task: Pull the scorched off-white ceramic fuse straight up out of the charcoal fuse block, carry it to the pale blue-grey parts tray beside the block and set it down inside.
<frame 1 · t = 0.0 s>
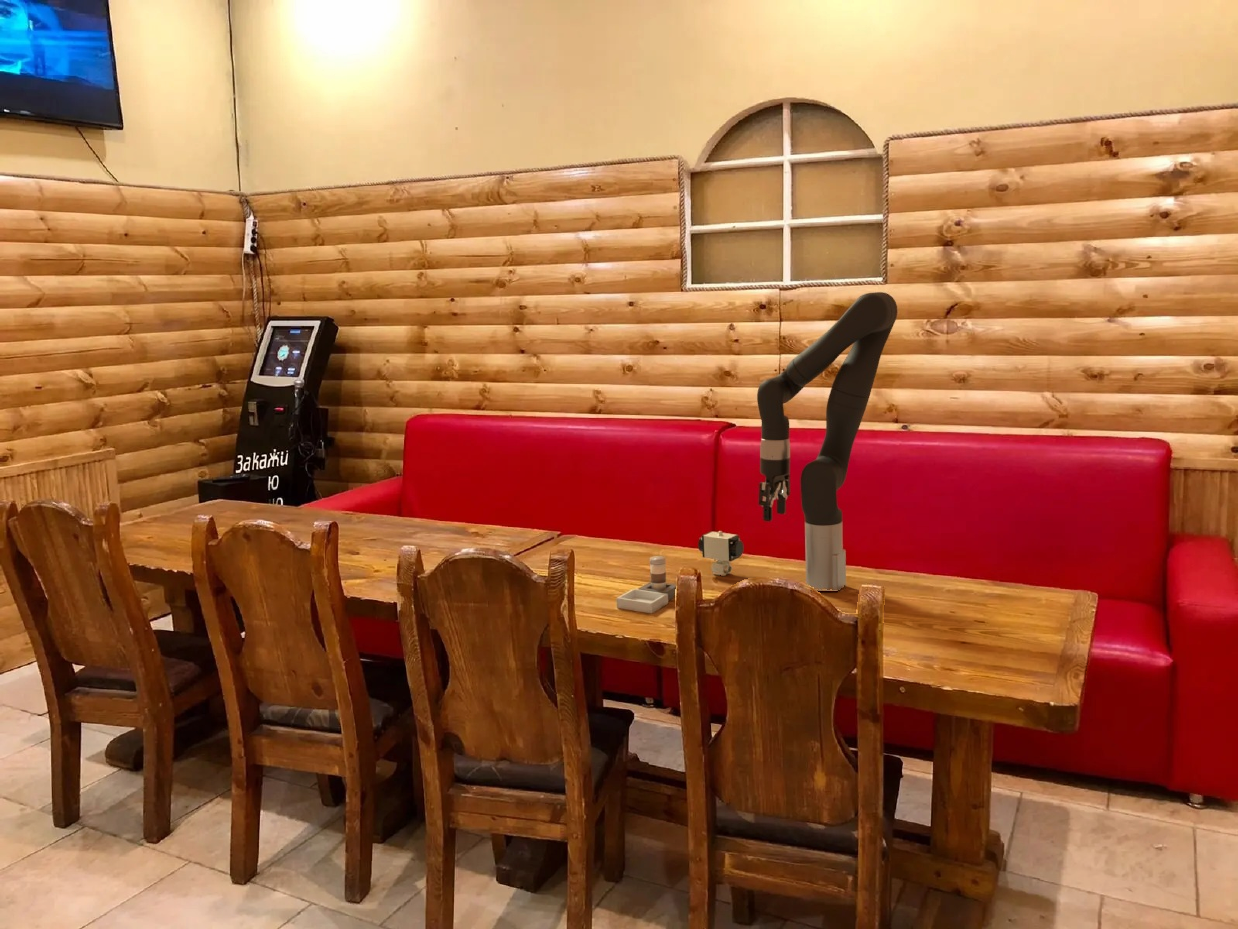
hand: (774, 517, 245), 17 cm above the table, tool pointing down, fingers open, 8 cm apart
fuse block: (659, 596, 241), on the table
parts tray: (642, 605, 234), on the table
blown fuse: (658, 577, 240), in the fuse block
pneumatic valve: (722, 574, 257), on the table
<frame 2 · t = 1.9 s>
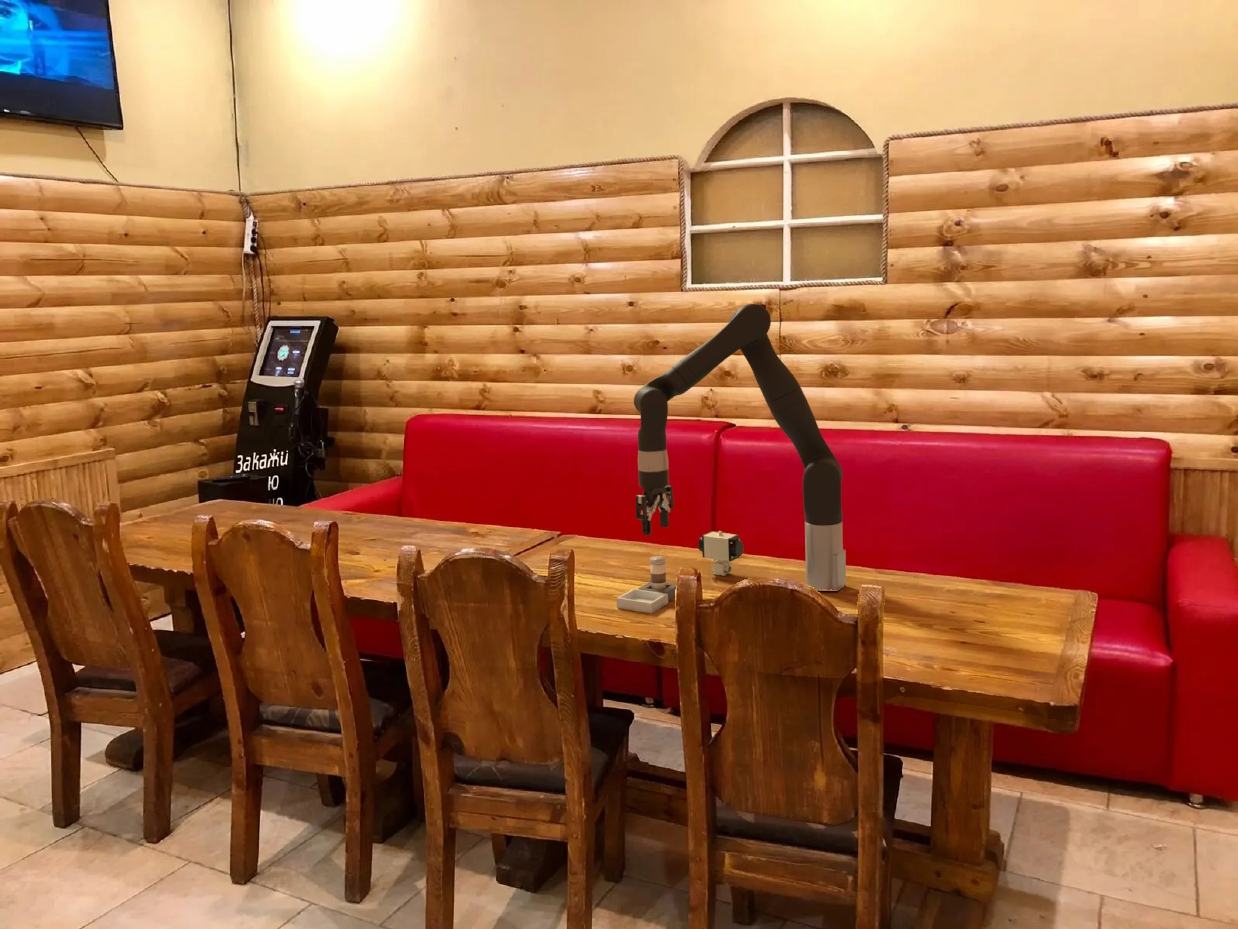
hand: (656, 530, 238), 17 cm above the table, tool pointing down, fingers open, 8 cm apart
nothing on the table moved.
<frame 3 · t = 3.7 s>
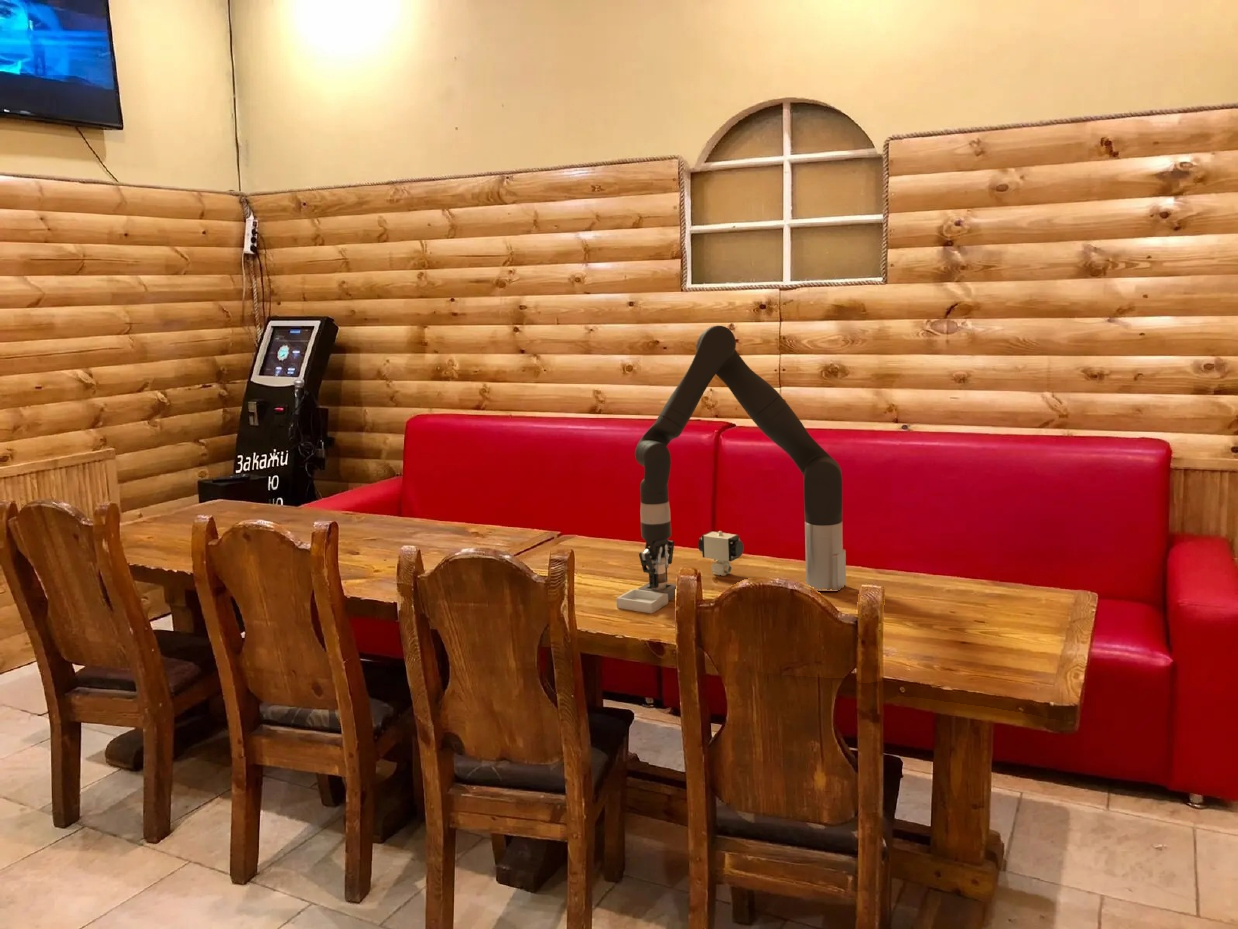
hand: (658, 584, 240), 3 cm above the table, tool pointing down, fingers closed on blown fuse, 4 cm apart
blown fuse: (658, 577, 240), in the fuse block, touching gripper
everything else where it was.
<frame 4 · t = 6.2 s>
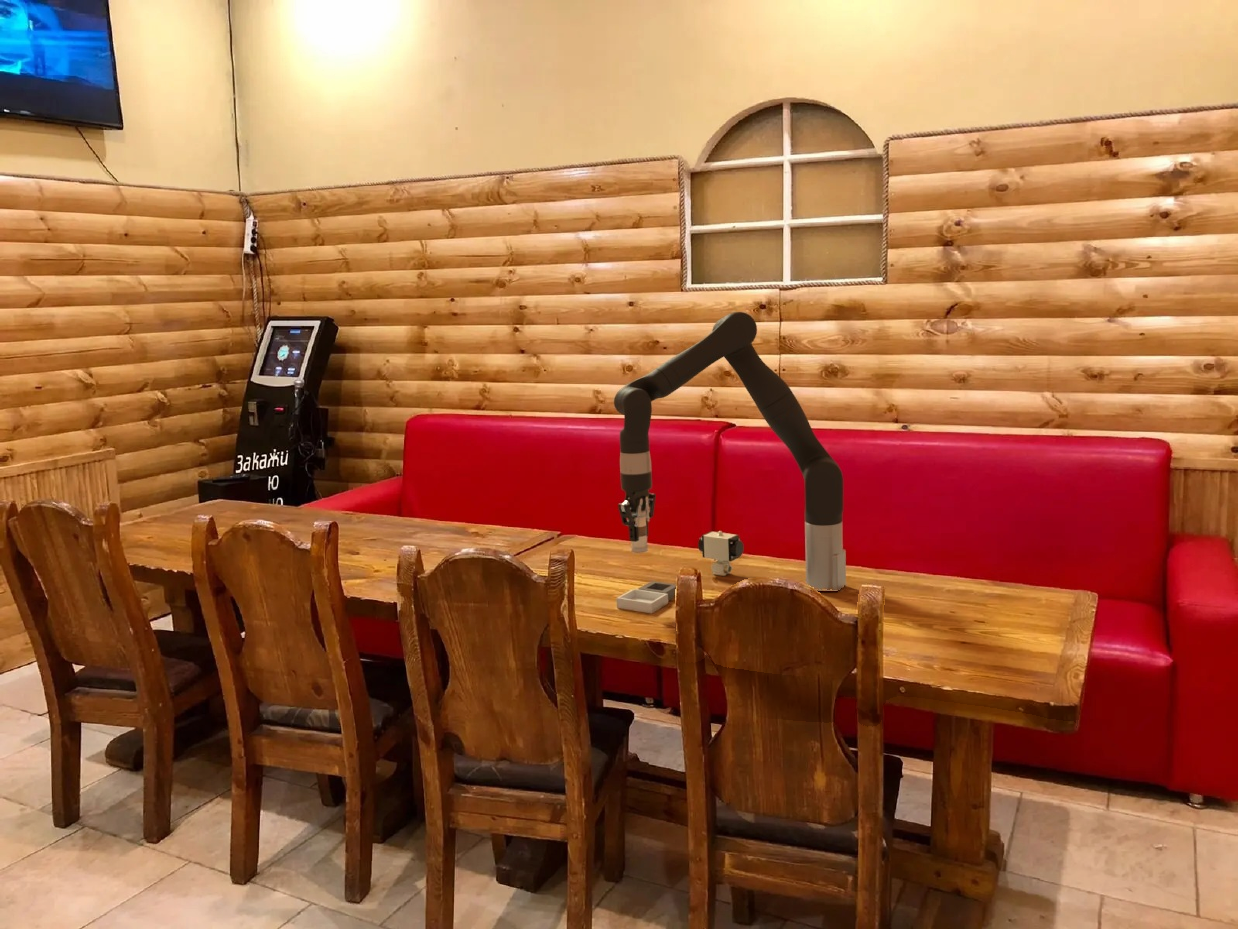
hand: (639, 538, 231), 17 cm above the table, tool pointing down, fingers closed on blown fuse, 4 cm apart
blown fuse: (638, 530, 231), point 19 cm above the table, touching gripper
everything else where it was.
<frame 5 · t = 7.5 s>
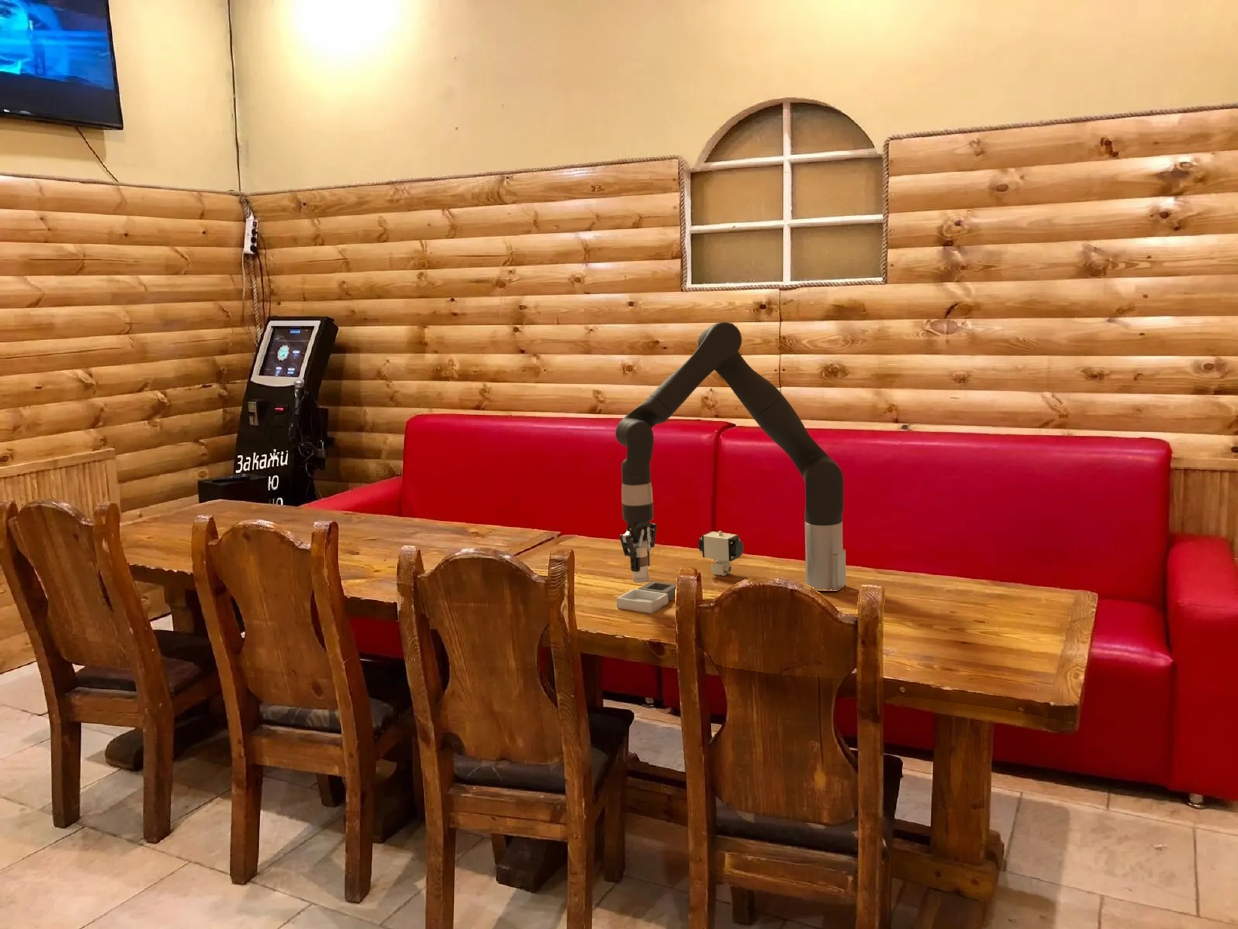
hand: (640, 568, 232), 10 cm above the table, tool pointing down, fingers closed on blown fuse, 4 cm apart
blown fuse: (640, 560, 232), point 12 cm above the table, touching gripper
everything else where it was.
when the fingers open (5 cm above the table, at t = 8.7 s): blown fuse drops 1 cm, resting on parts tray.
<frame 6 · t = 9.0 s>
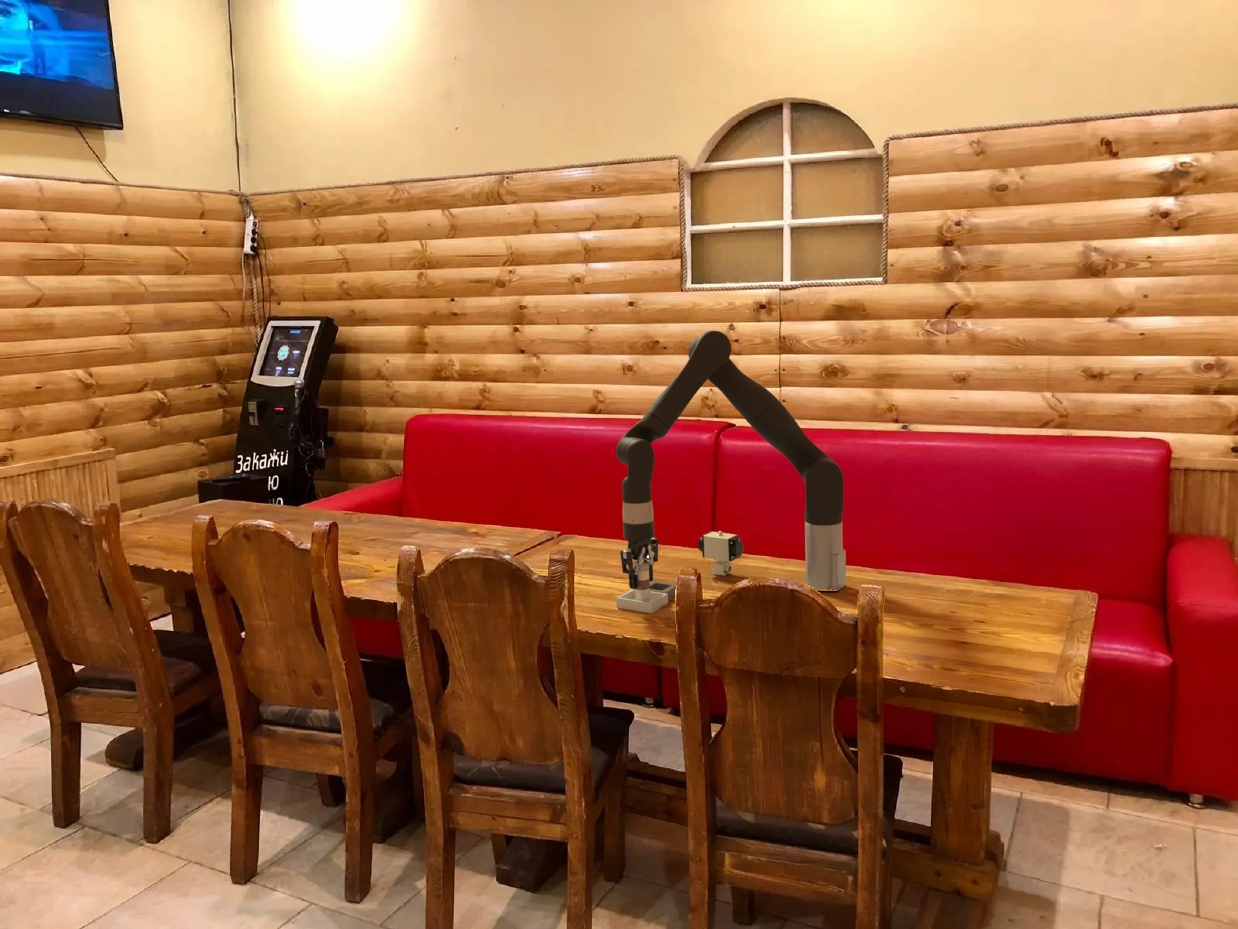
hand: (641, 584, 233), 5 cm above the table, tool pointing down, fingers open, 6 cm apart
blown fuse: (641, 583, 233), in the parts tray, point 6 cm above the table
everything else where it was.
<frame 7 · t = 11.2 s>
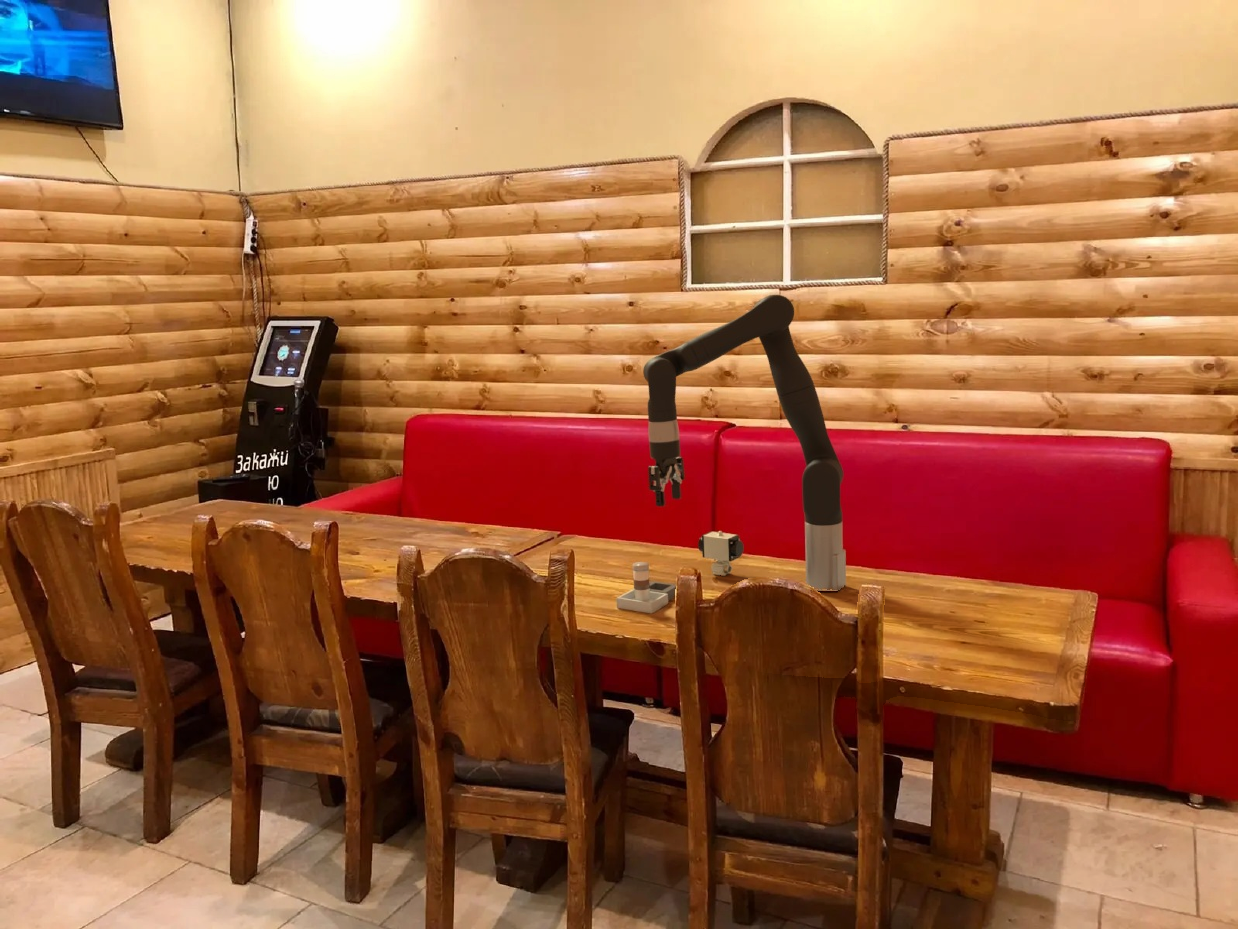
hand: (668, 502, 237), 24 cm above the table, tool pointing down, fingers open, 8 cm apart
nothing on the table moved.
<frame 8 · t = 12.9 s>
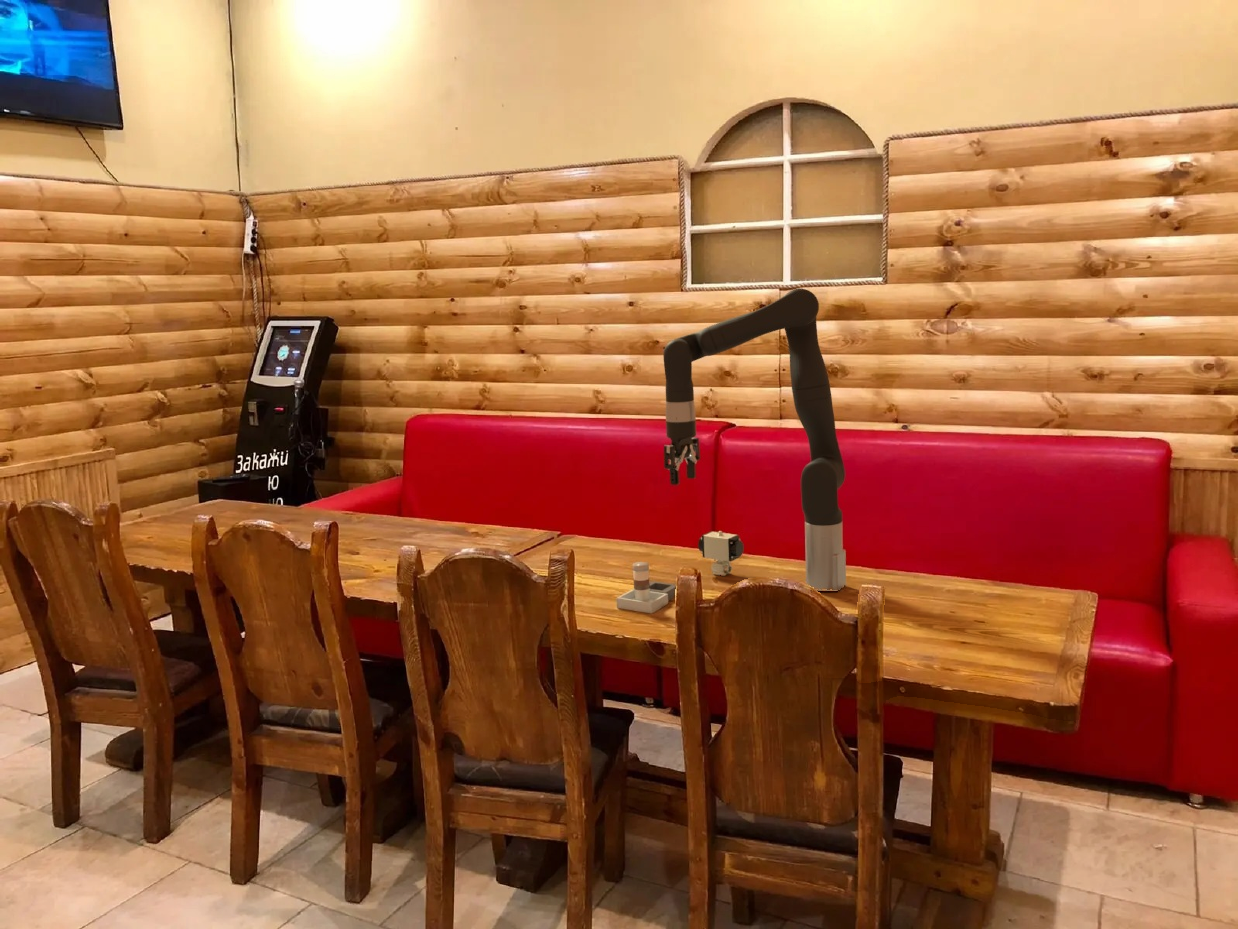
hand: (683, 481, 242), 28 cm above the table, tool pointing down, fingers open, 8 cm apart
nothing on the table moved.
at the end: blown fuse inside the target area on the parts tray (0.0 cm from its centre), point 5.6 cm above the parts tray's base; the gripper is holding nothing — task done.
